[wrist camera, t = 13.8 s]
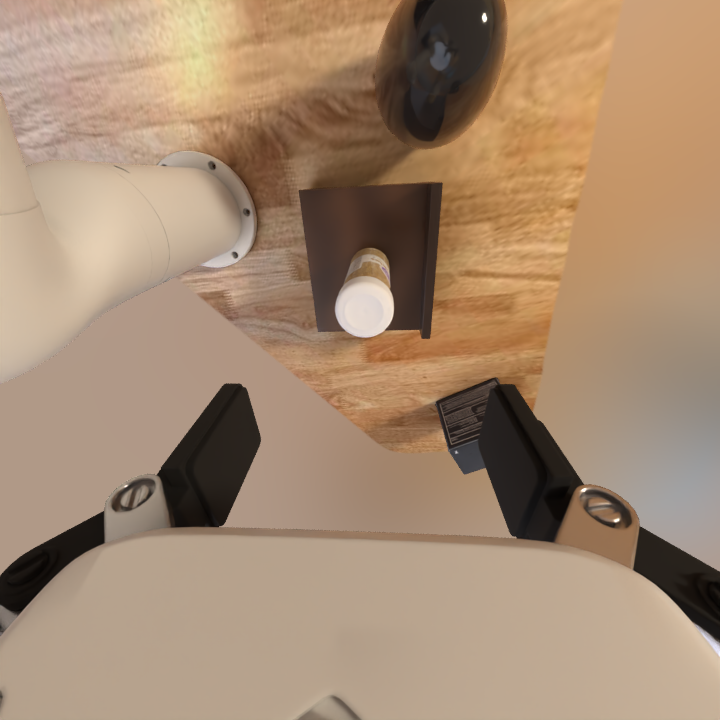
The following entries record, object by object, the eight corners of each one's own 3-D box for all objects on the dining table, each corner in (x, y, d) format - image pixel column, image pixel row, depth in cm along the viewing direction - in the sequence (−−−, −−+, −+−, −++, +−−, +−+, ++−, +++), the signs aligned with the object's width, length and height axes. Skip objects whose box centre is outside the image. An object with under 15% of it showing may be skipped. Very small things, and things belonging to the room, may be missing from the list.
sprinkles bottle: (397, 267, 34) (407, 313, 22) (369, 294, 36) (363, 350, 24) (369, 237, 32) (364, 269, 21) (341, 267, 34) (321, 311, 23)
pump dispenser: (454, -21, 26) (530, -223, 13) (494, 110, 30) (582, 59, 17) (354, 65, 29) (335, -26, 16) (404, 173, 33) (420, 169, 20)
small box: (449, 426, 52) (463, 477, 44) (433, 401, 50) (445, 450, 41) (509, 404, 49) (539, 454, 40) (496, 375, 46) (524, 422, 37)
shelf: (324, 316, 43) (314, 340, 36) (308, 188, 35) (292, 191, 28) (422, 314, 42) (430, 338, 35) (430, 181, 34) (442, 182, 27)
